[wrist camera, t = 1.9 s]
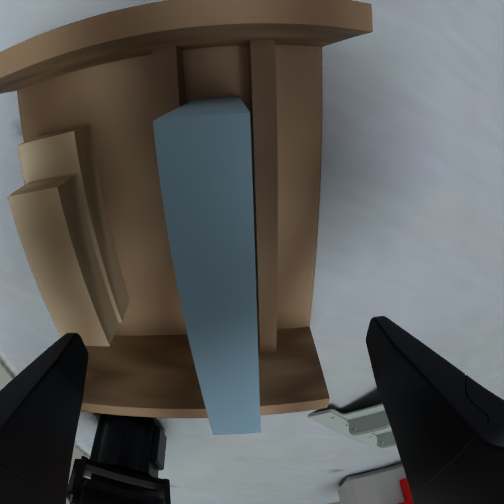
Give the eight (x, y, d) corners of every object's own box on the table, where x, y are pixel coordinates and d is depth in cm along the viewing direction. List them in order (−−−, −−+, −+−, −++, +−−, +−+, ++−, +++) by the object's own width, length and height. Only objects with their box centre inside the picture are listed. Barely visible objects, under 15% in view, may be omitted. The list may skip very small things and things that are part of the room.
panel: (216, 304, 20) (213, 434, 12) (196, 98, 14) (153, 120, 6) (248, 302, 20) (260, 432, 12) (238, 95, 14) (250, 112, 6)
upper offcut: (75, 322, 18) (65, 344, 16) (28, 182, 13) (7, 196, 11) (118, 322, 18) (109, 346, 16) (76, 173, 13) (57, 187, 11)
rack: (92, 335, 22) (65, 408, 16) (25, 72, 13) (-59, 85, 7) (305, 327, 23) (327, 407, 17) (315, 30, 13) (371, 4, 7)
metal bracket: (436, 397, 21) (465, 431, 27) (426, 340, 25) (459, 390, 31) (295, 433, 28) (361, 459, 34) (300, 384, 33) (362, 421, 39)
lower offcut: (82, 302, 19) (72, 321, 18) (37, 137, 14) (17, 145, 12) (129, 301, 19) (122, 322, 18) (90, 124, 14) (73, 131, 12)
